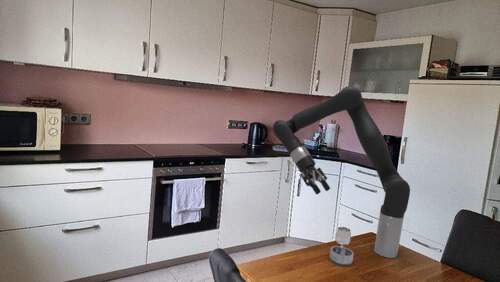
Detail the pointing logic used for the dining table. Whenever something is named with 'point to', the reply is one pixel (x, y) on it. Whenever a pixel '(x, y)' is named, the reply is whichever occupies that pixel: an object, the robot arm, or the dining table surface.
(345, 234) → the wineglass
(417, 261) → the dining table surface
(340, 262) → the grey bowl
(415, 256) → the dining table surface
